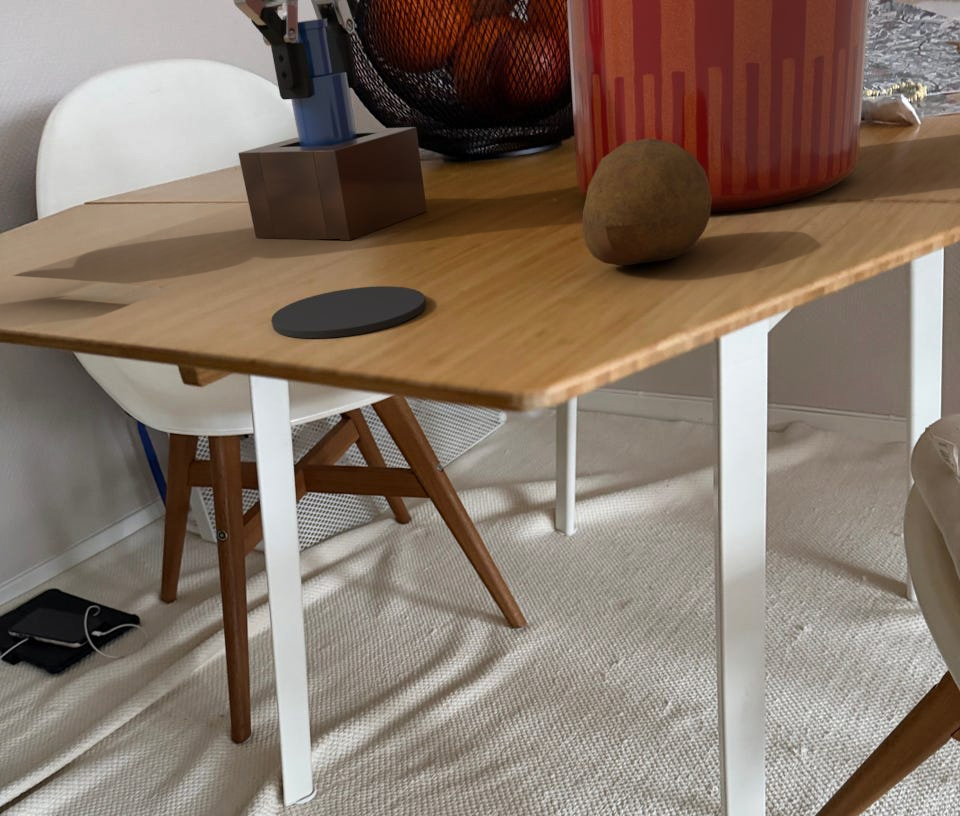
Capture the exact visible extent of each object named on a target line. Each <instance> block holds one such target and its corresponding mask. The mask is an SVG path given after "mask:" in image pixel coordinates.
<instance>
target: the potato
mask: <svg viewBox="0 0 960 816" xmlns="http://www.w3.org/2000/svg"><path fill="white" fill-rule="evenodd" d="M711 202H712V197H711V192H710V187H709V182H708V178H707V176H706V172H705V170H704V169H703V167H702V166H701V165H700V163H699V162H698V161H697V160H696V158H695V157H694V156H693V155H692V154H690V153H688V152H687V151H685V150H684V149H683V148H681V147H680V146H678V145H677V144H674V143H670V142H665V141H661V140H656V139H652V138H648V139H643V140H637V141H631V142H625V143H623V144H622V145H621V146H619V147H618V148H616V149H615V150H614V151H612V152H611V153H609V154H608V155H607V156H605V157H604V158H602V160H601V162H600V164H599V166H598V168H597V170H596V172H595V174H594V176H593V178H592V180H591V182H590V184H589V186H588V191H587V196H586V197H585V201H584V205H583V210H582V234H583V239H584V242H585V246H586V248H587V249H588V251H589V252H590V254H591V255H592V257H593V258H595V259H597V260H599V261H600V262H602V263H604V264H607V265H609V264H610V265H614V266H623V265H624V266H627V265H636V264H637V265H638V264H645V263H652V262H653V263H654V262H662V261H667V260H673V259H676V258H678V257H680V256H682V255H683V254H684V253H686V252H687V251H688V250H690V249H691V248H693V247H694V246H695V245H696V243H697V242H698V241H699V239H700V238H701V237H702V235H703V233H704V232H705V230H706V228H707V226H708V222H709V221H710V217H711V213H710V210H711Z"/></svg>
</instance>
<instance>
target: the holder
mask: <svg viewBox="0 0 960 816" xmlns="http://www.w3.org/2000/svg"><path fill="white" fill-rule="evenodd" d="M417 131H418V130H417V127H416V126H409V127H408V126H407V127H387V128H386V127H385V128H384V127H383V128H381V127H380V128H360V129H359V128H358V129H357V128H356V135H357V139H354V140H350V141H347V142H343V143H339V144H336V145H332V146H302V147H300V146H299V140H298V136H297V137H293V138H290V139H289V138H288V139H285V140H281V141H278V142H274V143H271V144H266V145H262V146H259V147H256V148H255V147H254V148H251V149H248V150H243V151H240V152H238V153H237V154H238V160H239V164H240V169H241V172H242V173H241V174H242V178H243V182H244V187H245V192H246V196H247V202H248V206H249V211H250V216H251V220H252V226H253V230H254V235H255V238H258V239H286V240H288V239H289V240H318V239H340V240H339V241H353V240H354V239H357V238H360V237H363V236H365V235H368V234H370V233H373V232H376V231H379V230H381V229H384V228H387V227H389V226H392V225H394V224H397V223H401V222H403V221H405V220H407V219H410V218H413V217H416V216H419V215H421V214H424V213H426V212H427V211H428V209H427V202H426V200H427V199H426V195H425V185H424V179H423V170H422V162H421V154H420V147H419V140H418V132H417Z"/></svg>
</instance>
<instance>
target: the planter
mask: <svg viewBox="0 0 960 816" xmlns="http://www.w3.org/2000/svg"><path fill="white" fill-rule="evenodd" d="M869 3H870V0H566V12H567V13H566V14H567V32H568V49H569V66H570V86H571V101H572V102H571V103H572V119H573V134H574V135H573V136H574V151H575V153H574V154H575V168H576V184H577V189H578V191H579V192H580V194H582V195H583V196H584V198H586V196H587V191H588V186H589V184H590V182H591V180H592V178H593V176H594V174H595V172H596V170H597V168H598V166H599V164H600V162H601V160H602V158H604V157H605V156H607V155H608V154H609V153H611V152H612V151H614V150H615V149H616V148H618V147H619V146H621V145H622V144H623V143H625V142H631V141H637V140H643V139H648V138H652V139H656V140H661V141H665V142H670V143H674V144H677V145H678V146H680V147H681V148H683V149H684V150H685V151H687V152H688V153H690V154H692V155H693V156H694V157H695V158H696V160H697V161H698V162H699V163H700V165H701V166H702V167H703V169H704V170H705V172H706V176H707V178H708V182H709V187H710V192H711V197H712V202H711V210H710V214H713V213H715V214H716V213H725V212H736V211H744V210H751V209H758V208H764V207H769V206H776V205H781V204H785V203H790V202H794V201H798V200H801V199H806V198H809V197H811V196H814V195H817V194H820V193H822V192H824V191H827V190H828V189H831V188H832V187H834V186H836V185H837V184H839V183H840V182H842V181H843V180H845V179H846V178H847V177H848V176H849V175H851V174H852V173H853V171H854V170H855V169H856V167H857V166H858V162H859V155H860V154H859V153H860V140H861V125H862V112H863V111H862V109H863V96H864V94H863V93H864V82H865V80H864V79H865V63H866V49H867V48H866V47H867V33H868V16H869Z"/></svg>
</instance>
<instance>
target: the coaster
mask: <svg viewBox="0 0 960 816" xmlns="http://www.w3.org/2000/svg"><path fill="white" fill-rule="evenodd" d="M425 307H427V300H426V296H425V295H424V293H423V292H421V291H419V290H417V289H414V288H410V287H405V286H390V285H389V286H388V285H382V286H377V285H376V286H363V287H354V288H353V287H352V288H346V289H340V290H333V291H328V292H324V293H320V294H315V295H312V296H309V297H305V298H302V299H300V300H296V301H294V302H292V303H289V304H287V305H285V306H283V307H281V308H280V309H278V310H276V312H274V314H273V315H272V316H271V319H270V320H271V325H272V328H273V330H274V331H275V332H276V333H278V334H280V335H283V336H286V337H291V338H296V339H297V338H298V339H333V338H343V337H350V336H357V335H362V334H368V333H373V332H377V331H381V330H384V329H388V328H391V327H394V326H397V325H400V324H403V323H405V322H408V321H410V320H412V319H413V318H412V317H414V318H416V317H417V316H418V315H417V314H419V313H420V314H422V313H423V312H424V311H425V309H426V308H425ZM424 308H425V309H424ZM423 310H424V311H423ZM420 314H419V315H420ZM416 315H417V316H416ZM415 316H416V317H415ZM411 318H412V319H411ZM409 319H410V320H409ZM407 320H408V321H407ZM404 321H405V322H404ZM402 322H403V323H402Z"/></svg>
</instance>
